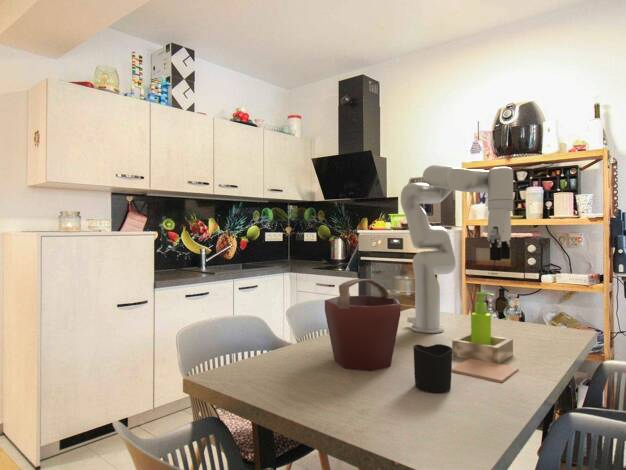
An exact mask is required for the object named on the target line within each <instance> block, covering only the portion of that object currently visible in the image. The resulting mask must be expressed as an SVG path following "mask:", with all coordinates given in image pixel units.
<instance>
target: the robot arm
mask: <svg viewBox="0 0 626 470" xmlns="http://www.w3.org/2000/svg"><path fill="white" fill-rule="evenodd" d="M422 179H423V181H424V182H411V183H408V184H406V185H404V187H403V188H402V190H401V193H400V206H401V208H402V211H403V213H404V215H405V219H406V221H407V222H406V223H407V226H408V232H409V236H410V240H411V241H410V242H411V244H412V246H413V248H415V249H418V250H423V251H420V252H417V253H416V254H415V255H414V256H413V257H412V268H413V274H414V284H415V285H414V290H415V291H414V292H415V293H414V294H415V295H414V296H415V299H414V300H415V301H414V306H415V308H414V309H415V310H414V311H415V312H414V313H415V315H414V317H412V316H411V317H409V316H408V317H407V319H406V321H407V323H410V324H411V323H412V325H411V330H412V331H414V332H418V333H422V334H423V333H424V334H438V333H442V332H444V331H445V328H444V327H443V326H441V325H440V324H441V320H440V319H441V314H440V313H441V302H440V301H441V298H440V297H441V292H440V291H441V289H440V286H441V285H440V283H439V281H438V279H437V277H436V276H437V275H438V276H439V275H448V274H451V273H453V272H454V270H455V268H456V256H455V253H454V249H453V244H452V240H451V238H450V237H451V236H450V234H449V232H448V231H447V230H446V229H445V227H443V226H439V225H438V226H437V225H435V226H434V225H433V226H432V225H431V224H430V221H429V217H428V214H427V212H426V211H425V209H424V208H423V207H422V206H421V205H420V204H422V205H423V204H425V205H436V204H440V203H441V202H442V201H444V200H445V199H446V198H447V197H448V196H449V195H450V194H451V192H453V191H459V192H463V193H465V192H466V193H482V194H483V193H484V194H487V212H488V218H487V232H486V233H487V235H486V239H487V241H488V242H489V261H499V262H500V261H501V260H510V259H511V244H510V243H511V237H512V216H511V212H512V211H514V170H513V169H512V168H511V167H508V166H499V167H498V166H497V167H493V168H490V169H487V170H484V169H473V168H472V169H470V168H469V169H468V168H461V167H459V166H457V165H442V164H433V165H430V166H427V167H426V168H425V169H424V171H423V173H422Z"/></svg>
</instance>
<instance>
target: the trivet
mask: <svg viewBox="0 0 626 470" xmlns="http://www.w3.org/2000/svg"><path fill="white" fill-rule="evenodd" d="M519 370H520V369H519V367H516V366H511V365H508V364H507V365H505V364H501V363H500V364H497V363H491V362H486V361H481V360H476V359H466V360H464V361H462V362H461V363H459V364H457V365H455V366H454V367H453V366H452V372H451V373H456V374H461V375H465V376H471V377H474V378H479V379H483V380H489V381H492V382H498V383H504V382H505V381H506V380H508V379H509V378H510V377H512V376H513V375H514V374H516V373H517V372H518V371H519Z"/></svg>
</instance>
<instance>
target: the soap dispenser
mask: <svg viewBox="0 0 626 470" xmlns="http://www.w3.org/2000/svg"><path fill="white" fill-rule="evenodd" d="M475 295H476V296H477V301H475V305H474V309H475V311H474V312H472V313H470V314H471V315H470V316H471V317H470V330H471V331H470V333H471V342H473V343H479V344H485V345H491V336H492V314H491V313H488V311H487V310H488V308H487V307H488V305H487V302H486V301H485V296H488V297H494V296H495V293H491V292H485V291H480V292H479V291H478V292H475Z"/></svg>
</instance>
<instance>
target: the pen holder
mask: <svg viewBox="0 0 626 470" xmlns="http://www.w3.org/2000/svg"><path fill="white" fill-rule="evenodd" d="M412 347H413V349H412V350H413V373H414V386H415V387H416V388H417V389H418V390H420V391H422V392H425V393H431V394H442V393H448V392H449V391H450V390H451V389H452V387H451V385H452V373H453V372H452V368H453V366H452V364H453V356H452V347H451V346H449V345H447V344H443V343H442V344H441V343H439V344H438V343H437V344H434V345H427V346H426V345H422V344H415V345H413V346H412Z"/></svg>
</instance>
